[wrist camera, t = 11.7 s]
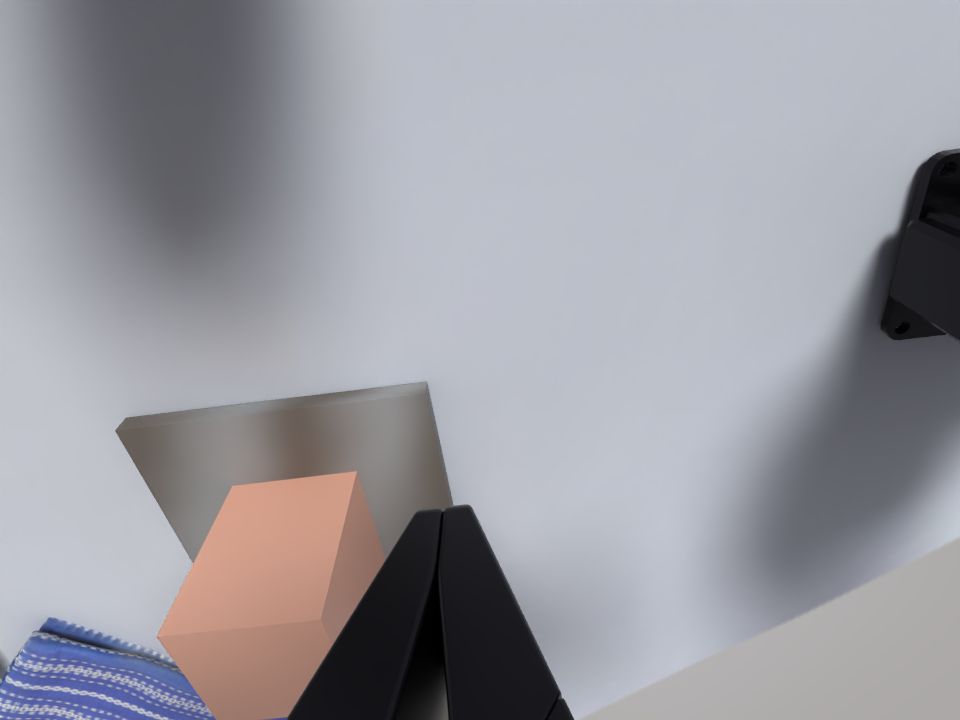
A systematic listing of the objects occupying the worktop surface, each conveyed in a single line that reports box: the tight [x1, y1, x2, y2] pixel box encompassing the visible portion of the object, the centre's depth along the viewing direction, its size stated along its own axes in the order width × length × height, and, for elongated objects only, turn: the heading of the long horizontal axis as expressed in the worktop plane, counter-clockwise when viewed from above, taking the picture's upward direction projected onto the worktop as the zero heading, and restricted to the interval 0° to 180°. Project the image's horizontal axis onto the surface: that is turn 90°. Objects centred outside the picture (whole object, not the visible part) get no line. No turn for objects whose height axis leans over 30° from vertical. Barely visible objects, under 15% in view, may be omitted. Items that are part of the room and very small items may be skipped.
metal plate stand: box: [115, 382, 453, 563], centre depth 22 cm, size 12×12×6 cm
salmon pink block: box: [157, 471, 385, 720], centre depth 22 cm, size 5×5×7 cm
